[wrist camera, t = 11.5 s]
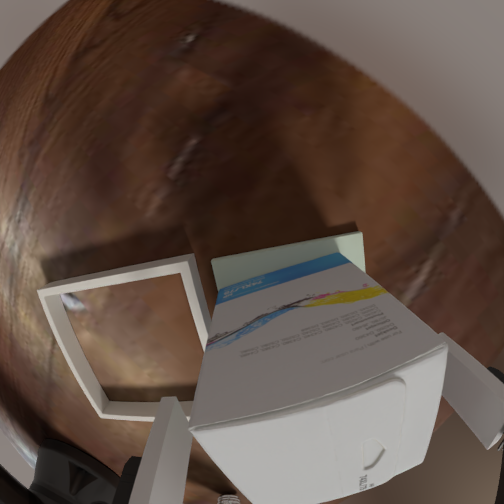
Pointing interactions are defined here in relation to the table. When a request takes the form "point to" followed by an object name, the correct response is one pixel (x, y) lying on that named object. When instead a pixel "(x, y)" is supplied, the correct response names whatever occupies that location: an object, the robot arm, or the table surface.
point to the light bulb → (228, 499)
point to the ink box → (316, 384)
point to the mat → (285, 257)
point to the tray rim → (110, 277)
